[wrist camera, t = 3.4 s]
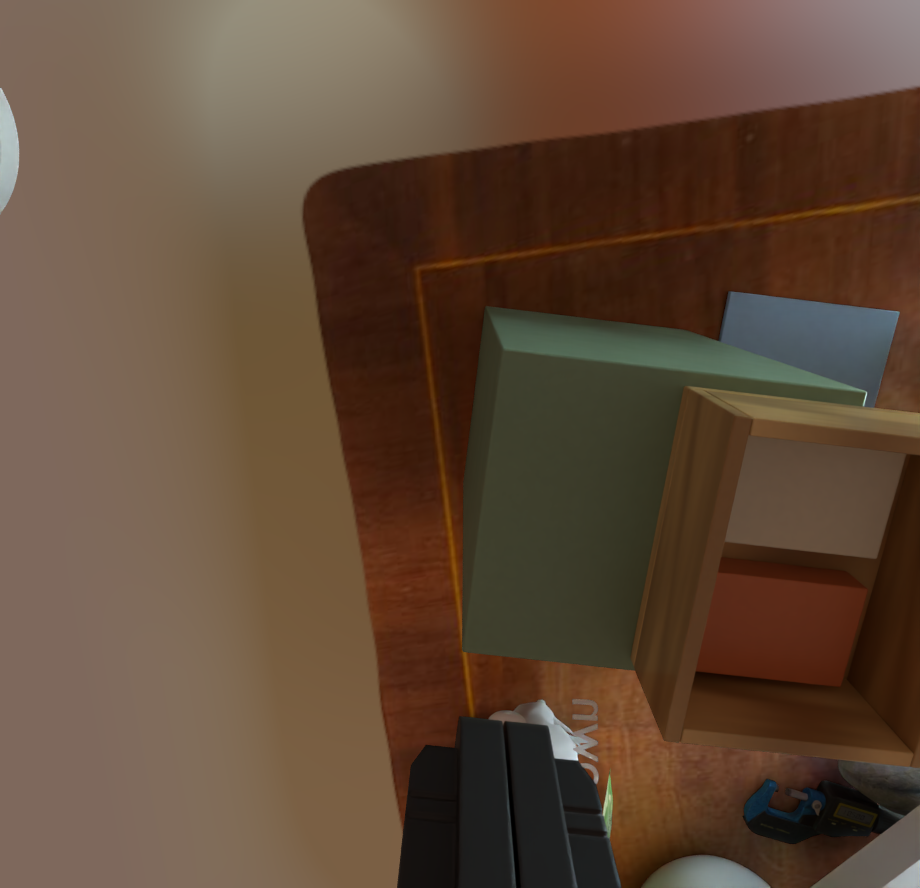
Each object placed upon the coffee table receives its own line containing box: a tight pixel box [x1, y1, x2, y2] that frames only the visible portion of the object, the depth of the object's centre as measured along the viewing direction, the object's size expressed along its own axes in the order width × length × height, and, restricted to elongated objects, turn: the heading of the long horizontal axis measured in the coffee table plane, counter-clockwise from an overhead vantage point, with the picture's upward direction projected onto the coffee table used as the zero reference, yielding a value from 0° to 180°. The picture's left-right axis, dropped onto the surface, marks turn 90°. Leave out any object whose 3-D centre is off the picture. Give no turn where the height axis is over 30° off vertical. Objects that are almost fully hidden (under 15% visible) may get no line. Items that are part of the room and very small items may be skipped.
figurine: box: [489, 699, 599, 784], centre depth 46 cm, size 12×8×10 cm
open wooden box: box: [630, 386, 920, 768], centre depth 23 cm, size 8×10×5 cm
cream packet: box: [725, 435, 906, 559], centre depth 23 cm, size 5×4×1 cm
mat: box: [719, 291, 899, 408], centre depth 43 cm, size 10×10×1 cm
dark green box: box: [462, 306, 867, 670], centre depth 34 cm, size 12×11×20 cm
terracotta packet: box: [696, 557, 868, 687], centre depth 24 cm, size 5×4×1 cm
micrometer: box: [743, 779, 905, 844], centre depth 50 cm, size 12×2×5 cm
